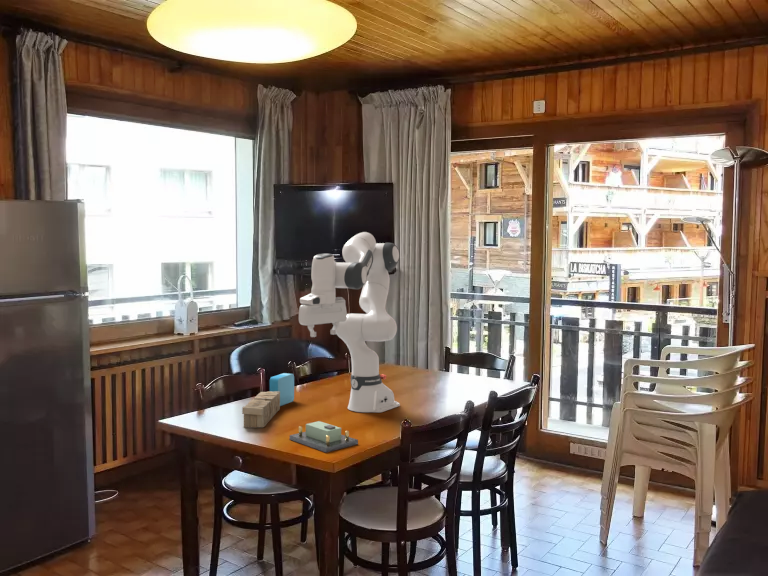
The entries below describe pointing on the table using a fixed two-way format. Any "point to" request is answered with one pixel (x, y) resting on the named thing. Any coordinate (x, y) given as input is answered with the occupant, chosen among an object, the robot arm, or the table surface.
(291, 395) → the data package
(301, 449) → the table surface
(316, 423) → the pale green block
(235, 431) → the table surface
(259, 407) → the block tower
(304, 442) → the plate
